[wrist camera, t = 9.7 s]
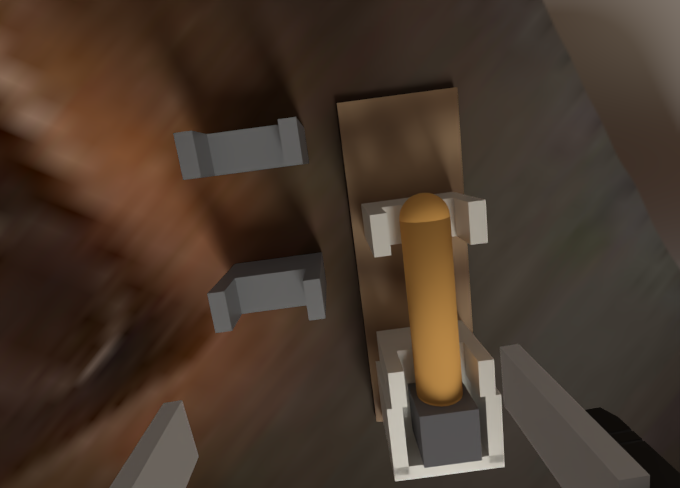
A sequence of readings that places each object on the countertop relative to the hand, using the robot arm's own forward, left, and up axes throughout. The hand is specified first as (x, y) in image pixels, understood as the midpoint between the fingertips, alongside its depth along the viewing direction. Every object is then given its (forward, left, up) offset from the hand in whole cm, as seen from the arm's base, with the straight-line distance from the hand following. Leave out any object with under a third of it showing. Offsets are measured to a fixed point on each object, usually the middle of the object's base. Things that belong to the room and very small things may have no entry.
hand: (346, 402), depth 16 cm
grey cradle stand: (-6, -5, -20) cm, 22 cm away
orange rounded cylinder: (+4, +7, -15) cm, 17 cm away
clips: (+5, +7, -20) cm, 21 cm away
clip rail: (+1, +7, -20) cm, 22 cm away
